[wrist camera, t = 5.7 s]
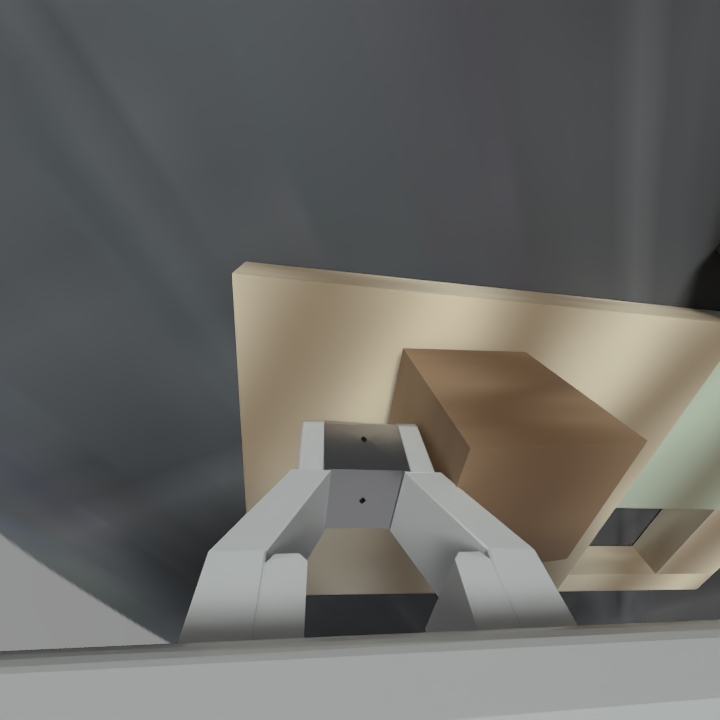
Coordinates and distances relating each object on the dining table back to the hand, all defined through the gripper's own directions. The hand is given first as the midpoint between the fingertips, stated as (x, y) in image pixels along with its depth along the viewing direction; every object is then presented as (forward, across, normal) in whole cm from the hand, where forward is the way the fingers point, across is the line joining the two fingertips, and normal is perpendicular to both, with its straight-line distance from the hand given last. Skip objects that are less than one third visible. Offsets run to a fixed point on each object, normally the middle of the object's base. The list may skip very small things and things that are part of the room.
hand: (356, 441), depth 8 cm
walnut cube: (+2, -3, 0) cm, 4 cm away
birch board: (+4, -9, +4) cm, 10 cm away
